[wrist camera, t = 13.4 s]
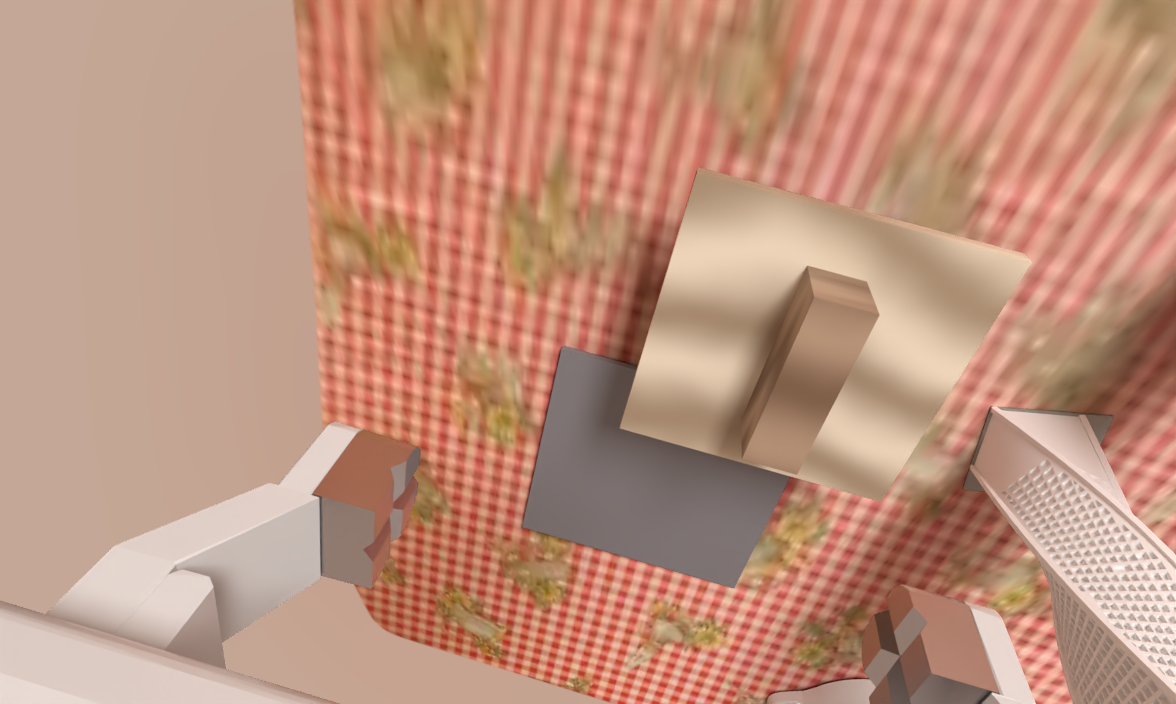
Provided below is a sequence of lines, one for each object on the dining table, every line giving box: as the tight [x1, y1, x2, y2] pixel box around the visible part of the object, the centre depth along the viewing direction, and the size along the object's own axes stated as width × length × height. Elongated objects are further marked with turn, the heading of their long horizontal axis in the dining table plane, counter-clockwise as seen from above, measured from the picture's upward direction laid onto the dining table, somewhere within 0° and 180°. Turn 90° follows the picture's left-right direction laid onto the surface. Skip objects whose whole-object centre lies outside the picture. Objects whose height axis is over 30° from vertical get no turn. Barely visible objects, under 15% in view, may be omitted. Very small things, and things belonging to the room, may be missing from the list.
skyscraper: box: [963, 406, 1176, 704], centre depth 33 cm, size 8×8×28 cm
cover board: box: [620, 167, 1032, 502], centre depth 35 cm, size 16×16×4 cm
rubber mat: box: [522, 346, 791, 588], centre depth 51 cm, size 18×18×1 cm
